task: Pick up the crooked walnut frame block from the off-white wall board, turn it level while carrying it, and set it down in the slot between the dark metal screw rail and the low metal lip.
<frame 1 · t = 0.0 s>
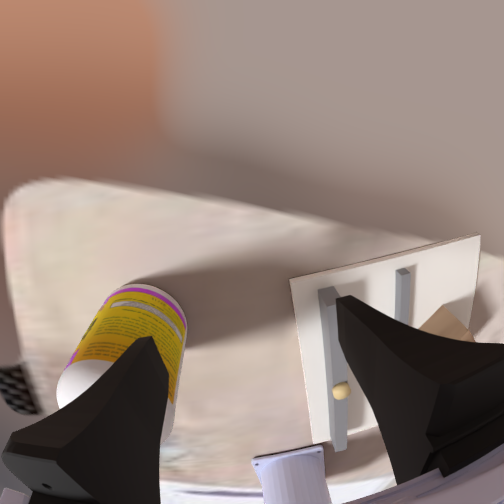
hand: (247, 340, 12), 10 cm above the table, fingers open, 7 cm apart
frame: (438, 334, 25), point 1 cm above the table, touching wall board
wall board: (393, 354, 26), on the table
supplement bottle: (145, 318, 23), on the table
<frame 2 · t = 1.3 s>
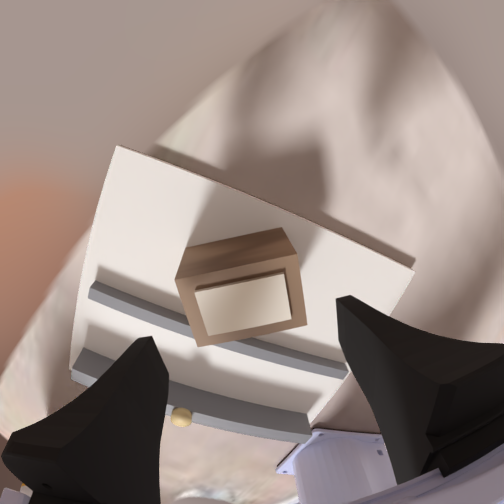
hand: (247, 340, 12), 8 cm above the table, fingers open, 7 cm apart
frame: (240, 268, 18), point 1 cm above the table, touching wall board
wall board: (227, 328, 21), on the table
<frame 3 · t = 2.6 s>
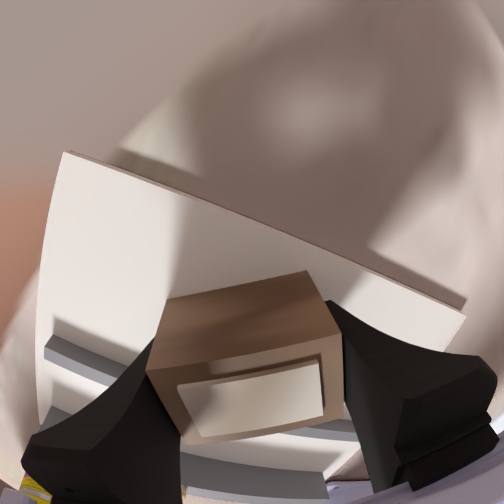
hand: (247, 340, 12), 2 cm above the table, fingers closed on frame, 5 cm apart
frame: (245, 326, 13), point 1 cm above the table, touching gripper, wall board
wall board: (228, 393, 15), on the table
supplement bottle: (61, 480, 19), on the table
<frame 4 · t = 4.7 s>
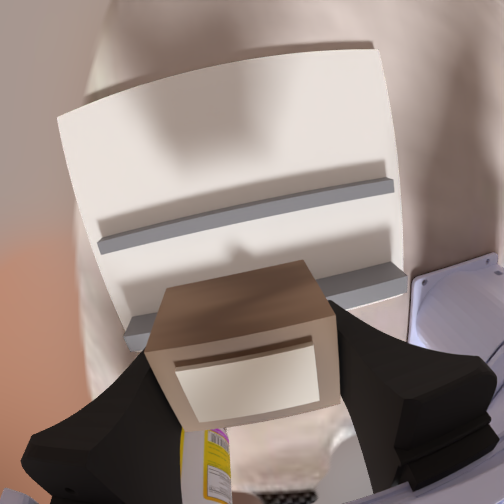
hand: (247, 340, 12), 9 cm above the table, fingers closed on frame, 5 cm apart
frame: (243, 315, 13), point 7 cm above the table, touching gripper
wall board: (244, 206, 19), on the table
supplement bottle: (193, 431, 26), on the table
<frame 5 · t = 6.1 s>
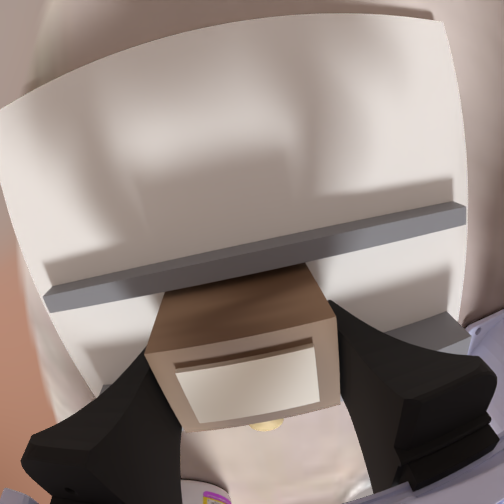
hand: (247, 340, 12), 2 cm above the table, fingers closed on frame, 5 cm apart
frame: (243, 315, 13), point 1 cm above the table, touching gripper, wall board
wall board: (254, 243, 13), on the table
supplement bottle: (190, 491, 20), on the table
when the fingers open (2 cm above the table, at t = 6.9 s): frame stays where it is, resting on wall board.
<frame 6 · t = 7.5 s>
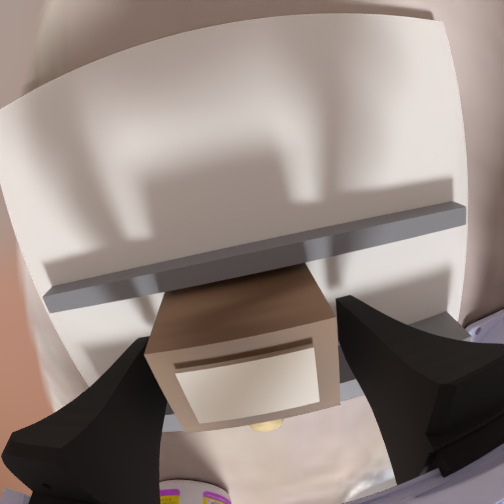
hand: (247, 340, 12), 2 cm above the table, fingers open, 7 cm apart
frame: (243, 315, 13), point 1 cm above the table, touching wall board
wall board: (253, 244, 13), on the table
supplement bottle: (190, 491, 20), on the table
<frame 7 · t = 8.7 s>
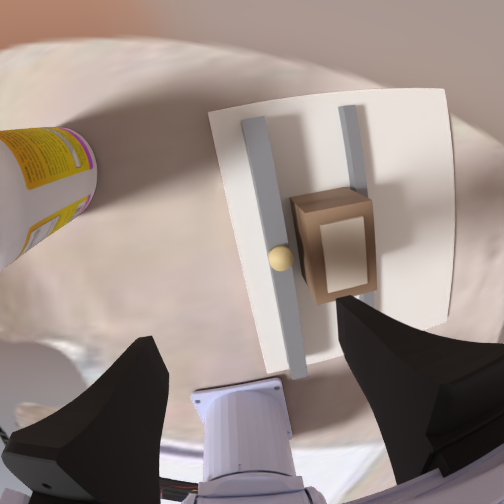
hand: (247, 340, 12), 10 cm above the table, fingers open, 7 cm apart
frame: (323, 232, 21), point 1 cm above the table, touching wall board
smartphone: (175, 487, 34), on the table
wall board: (358, 235, 22), on the table
supplement bottle: (60, 174, 19), on the table
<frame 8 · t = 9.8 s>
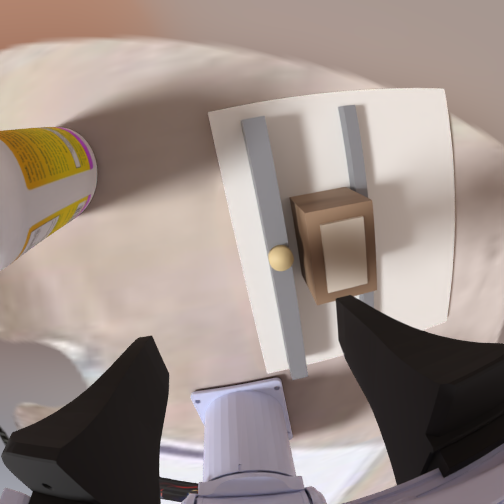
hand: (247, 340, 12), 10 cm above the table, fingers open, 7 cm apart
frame: (323, 232, 21), point 1 cm above the table, touching wall board
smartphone: (175, 487, 34), on the table
wall board: (358, 235, 22), on the table
supplement bottle: (60, 174, 19), on the table
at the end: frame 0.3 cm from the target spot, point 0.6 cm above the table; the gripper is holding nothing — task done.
